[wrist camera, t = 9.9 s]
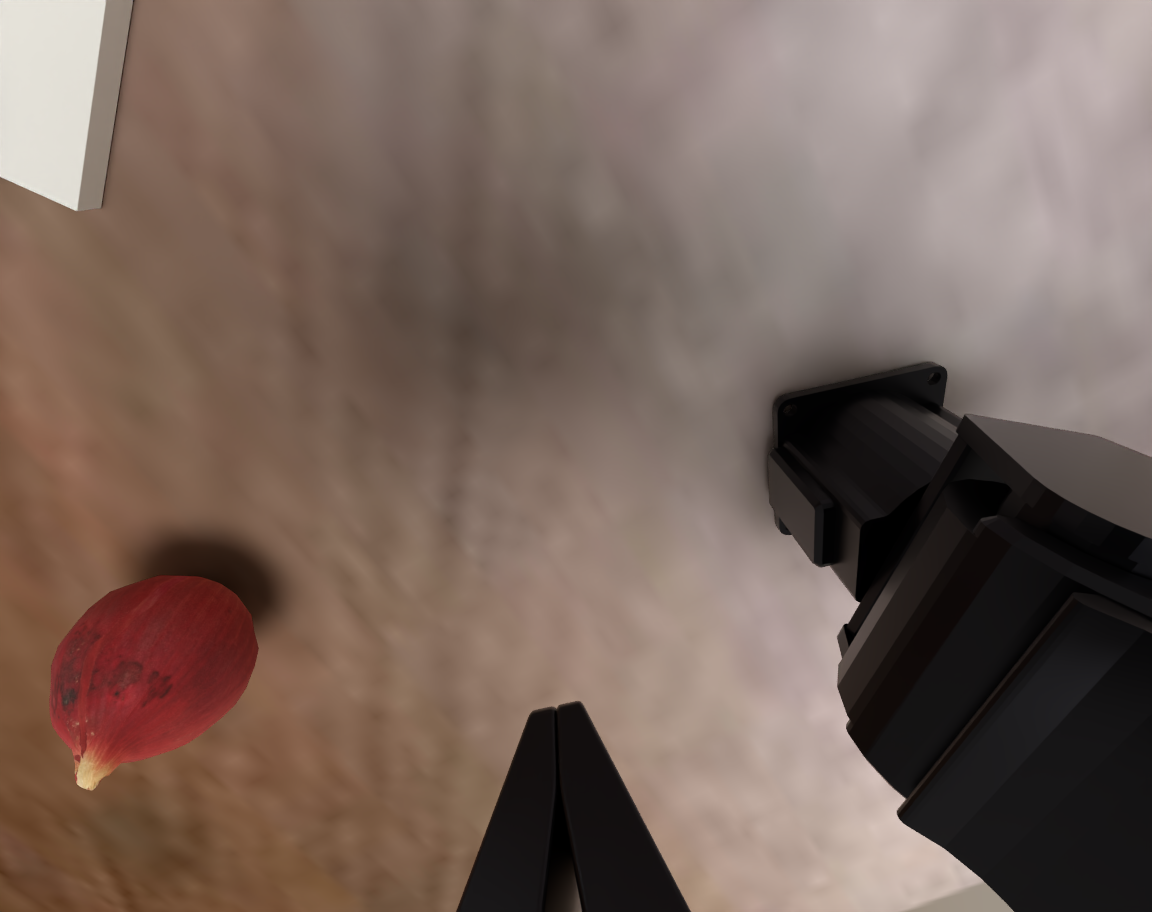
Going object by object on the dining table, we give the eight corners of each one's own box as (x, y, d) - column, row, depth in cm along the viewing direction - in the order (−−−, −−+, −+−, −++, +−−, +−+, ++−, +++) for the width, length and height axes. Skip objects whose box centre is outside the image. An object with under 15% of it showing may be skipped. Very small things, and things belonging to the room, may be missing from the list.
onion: (99, 559, 22) (-98, 752, 15) (230, 513, 21) (91, 689, 14) (196, 654, 24) (68, 853, 18) (313, 615, 24) (230, 803, 17)
